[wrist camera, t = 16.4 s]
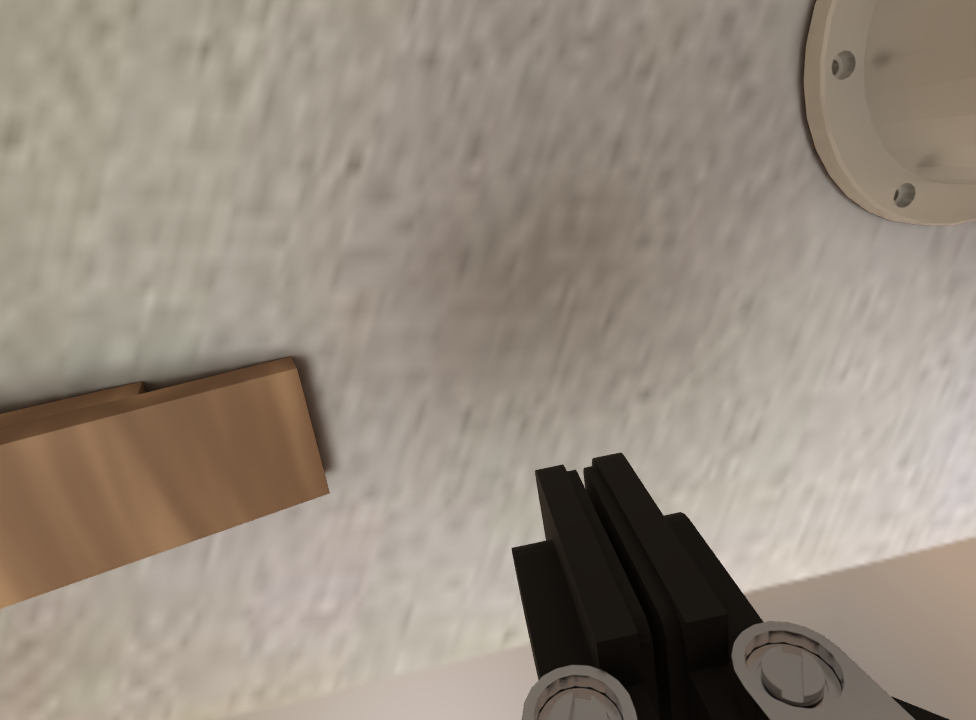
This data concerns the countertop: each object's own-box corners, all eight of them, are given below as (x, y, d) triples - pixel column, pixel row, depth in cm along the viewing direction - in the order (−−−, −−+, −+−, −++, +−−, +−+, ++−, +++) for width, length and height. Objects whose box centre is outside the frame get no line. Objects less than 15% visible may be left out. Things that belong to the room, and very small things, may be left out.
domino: (297, 368, 19) (-79, 465, 15) (329, 493, 21) (0, 608, 17) (290, 356, 20) (-55, 442, 16) (321, 474, 22) (15, 577, 18)
